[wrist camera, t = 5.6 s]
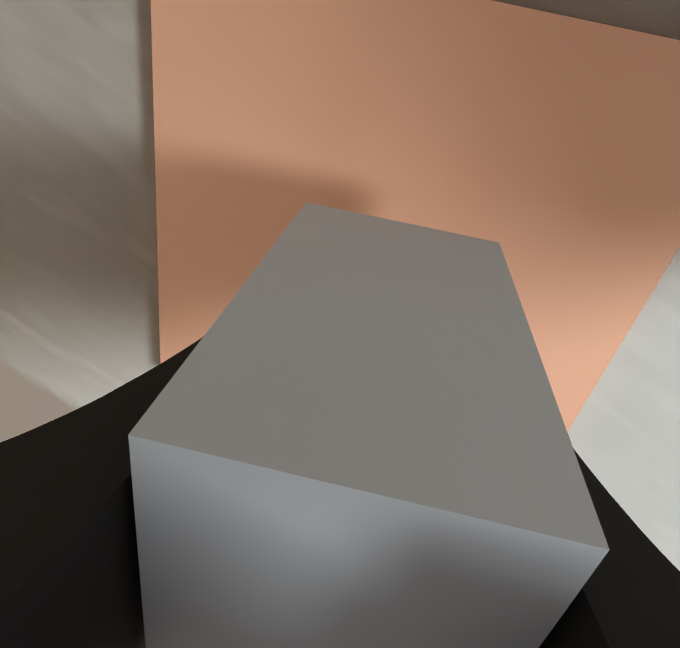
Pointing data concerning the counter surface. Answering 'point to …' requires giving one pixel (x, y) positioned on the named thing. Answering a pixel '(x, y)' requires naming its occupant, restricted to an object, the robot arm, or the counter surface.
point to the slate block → (362, 456)
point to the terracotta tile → (420, 152)
